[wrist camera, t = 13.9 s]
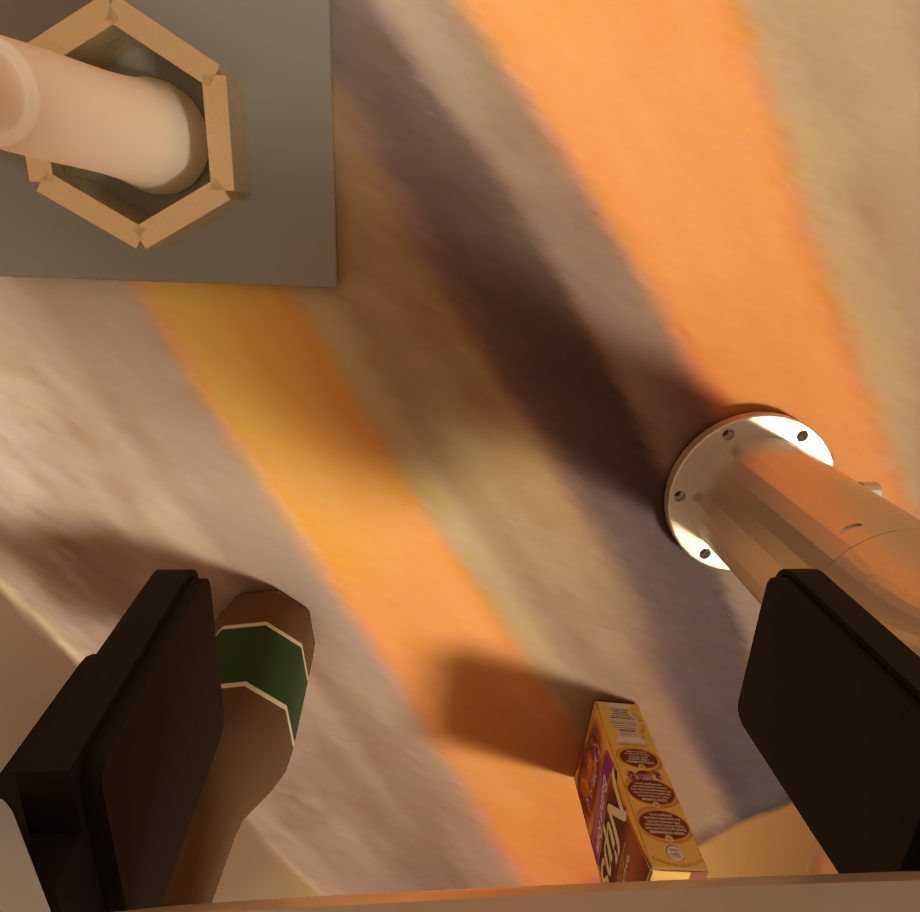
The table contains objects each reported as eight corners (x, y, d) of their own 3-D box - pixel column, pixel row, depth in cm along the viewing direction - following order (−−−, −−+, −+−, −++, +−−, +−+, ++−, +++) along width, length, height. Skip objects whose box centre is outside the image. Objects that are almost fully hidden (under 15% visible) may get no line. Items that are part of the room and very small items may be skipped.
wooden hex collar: (240, 23, 35) (220, 1, 32) (255, 248, 40) (239, 252, 36) (39, 10, 35) (-5, -14, 31) (76, 241, 39) (41, 245, 35)
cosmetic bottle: (232, 141, 37) (18, 57, 17) (165, 217, 39) (-113, 226, 18) (145, 51, 36) (-214, -165, 15) (77, 134, 37) (-343, 38, 16)
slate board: (330, -11, 36) (328, -17, 35) (337, 285, 42) (335, 287, 41) (-53, -39, 34) (-66, -46, 33) (8, 274, 40) (-2, 276, 39)
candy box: (589, 698, 55) (652, 869, 41) (638, 701, 56) (717, 871, 41) (568, 778, 58) (620, 963, 44) (615, 780, 59) (681, 964, 44)
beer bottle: (194, 611, 49) (16, 945, 27) (283, 568, 49) (176, 875, 26) (251, 684, 52) (132, 1042, 30) (336, 644, 51) (280, 981, 29)
